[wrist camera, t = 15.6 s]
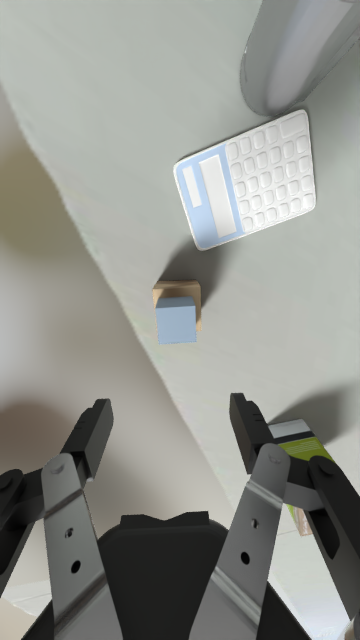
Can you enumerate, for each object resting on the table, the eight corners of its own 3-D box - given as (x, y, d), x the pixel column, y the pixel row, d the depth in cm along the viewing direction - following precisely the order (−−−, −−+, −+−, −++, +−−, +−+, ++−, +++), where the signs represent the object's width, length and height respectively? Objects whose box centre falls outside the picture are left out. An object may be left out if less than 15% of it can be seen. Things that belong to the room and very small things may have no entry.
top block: (197, 281, 33) (200, 286, 29) (198, 321, 35) (201, 330, 31) (155, 284, 32) (152, 289, 29) (158, 323, 35) (156, 333, 31)
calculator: (311, 210, 33) (319, 208, 31) (197, 253, 35) (198, 253, 33) (301, 111, 29) (309, 102, 27) (170, 167, 31) (170, 162, 29)
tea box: (304, 457, 54) (349, 530, 40) (267, 464, 55) (299, 539, 41) (302, 416, 49) (353, 484, 35) (262, 425, 49) (295, 495, 35)
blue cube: (192, 296, 29) (195, 305, 25) (193, 327, 31) (196, 342, 26) (158, 298, 29) (155, 308, 25) (161, 329, 31) (158, 344, 26)
